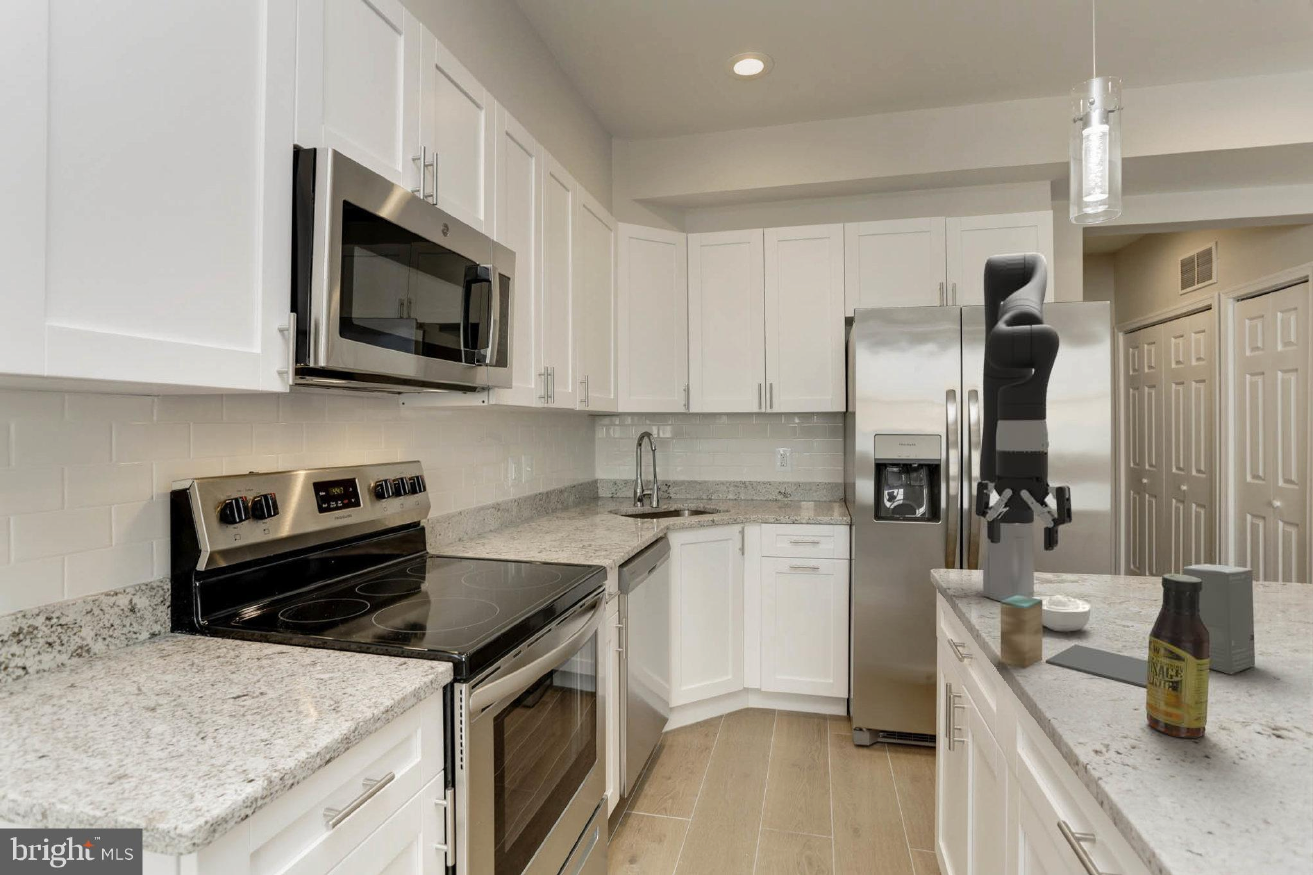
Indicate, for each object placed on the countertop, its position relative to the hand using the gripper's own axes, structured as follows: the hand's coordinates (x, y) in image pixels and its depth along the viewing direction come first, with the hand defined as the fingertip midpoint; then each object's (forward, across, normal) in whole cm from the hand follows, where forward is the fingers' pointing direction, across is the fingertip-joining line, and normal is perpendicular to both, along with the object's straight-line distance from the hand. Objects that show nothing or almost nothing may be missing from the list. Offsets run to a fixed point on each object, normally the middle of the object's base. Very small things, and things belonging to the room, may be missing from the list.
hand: (1021, 546), depth 113 cm
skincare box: (+19, +21, +22) cm, 36 cm away
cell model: (+19, -3, +23) cm, 30 cm away
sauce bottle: (+19, +24, -11) cm, 33 cm away
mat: (+19, +11, +8) cm, 23 cm away
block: (+19, 0, 0) cm, 19 cm away
